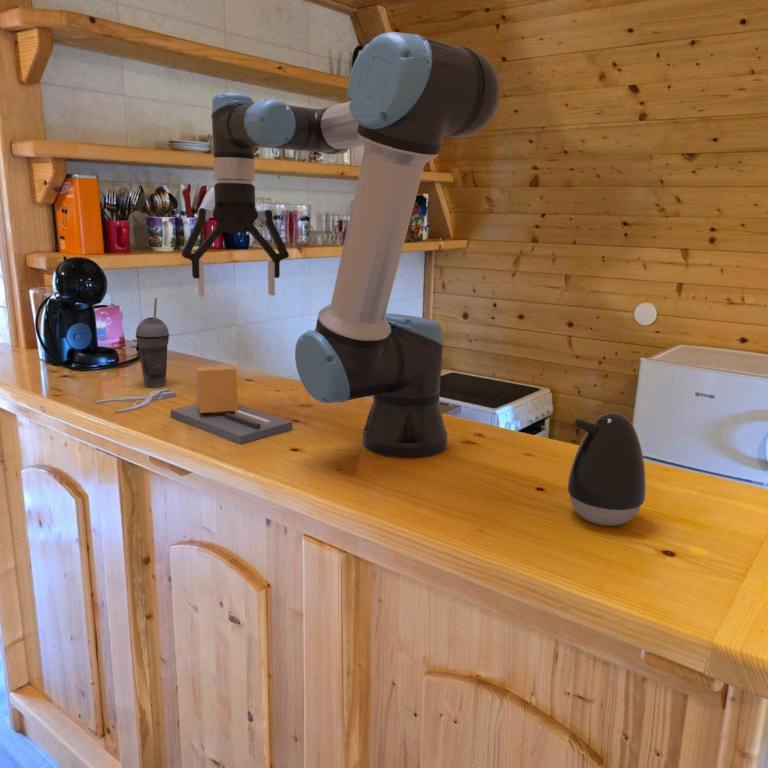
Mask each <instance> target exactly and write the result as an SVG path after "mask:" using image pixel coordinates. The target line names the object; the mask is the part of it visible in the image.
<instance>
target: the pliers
mask: <svg viewBox="0 0 768 768" xmlns="http://www.w3.org/2000/svg"><path fill="white" fill-rule="evenodd" d="M175 398H177V393H176V391H170V388H164V389H159V390H153V391H150V392H148V395H146V396H124V397H123V396H122V397H114V398H113V397H112V398H107V399H101V400H97V401H94V404H95V405H98V404H105V403H111V402H124V403H125V402H126V403H127V402H128V403H134V402H135V403H134V404H133V406H129V407H126V408H122V409H119V410H114V411H115V413H116V414H121V413H126V412H127V413H128V412H131V411H136V410H140V409H142V408H145V407H147V406H149V405H150V404H151V403H154V402H155V401H160V400H161V401H162V400H169V399H175ZM140 401H142V402H141V403H140Z"/></svg>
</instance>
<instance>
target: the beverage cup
mask: <svg viewBox="0 0 768 768" xmlns="http://www.w3.org/2000/svg"><path fill="white" fill-rule="evenodd" d="M153 304H154V306H153V317H146V318H144V319H142V320H141V321H140V322H139V324H138V325H137V327H136V330H135V331H136V332H135V337H136V343H137V346H138V350H139V351H138V352H139V357H140V365H141V372H142V377H143V383H144V386H145V387H146V388H161V387H165V386H166V380H167V368H168V367H167V361H168V345H169V338H170V333H169V330H168V326H167V324H166V323H165V322H164V321H163V320H162V319H160V318H158V317H157V305H158V297H154V303H153Z"/></svg>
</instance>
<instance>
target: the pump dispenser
mask: <svg viewBox="0 0 768 768" xmlns="http://www.w3.org/2000/svg"><path fill="white" fill-rule="evenodd" d="M574 426H575V427H577V428H579V429H581V430H582V431H585V434H584V436H583V437H582V439H581V442H580V443H579V446H578V447H577V450H576V452H575V455H574V458H573V461H572V464H571V468H570V471H569V476H568V481H567V492H568V494H569V497H570V498H569V499H570V502H571V505H572V506H573V509H574V510H575V512H576V513H577V514H578V515H579V516H580V517H581V518H583V519H584V520H586V521H588V522H590V523H592V524H595V525H599V526H604V527H617V526H620V525H623V524H626V523H628V522H630V521H631V520H632V519H634V517H635V516H636V515H637V514H638V512H639V510H640V508H641V506H642V505H643V504H644V503H645V499H646V491H647V489H646V469H645V467H646V466H645V460H644V454H643V451H642V446H641V442H640V439H639V437H638V434H637V431H636V429H635V427H634V424H633V423H632V422H631V420H630V419H629V418H628V417H627V416H624V415H623V414H620V413H617V412H607V413H604V414H603V413H602V414H601V415H600V416H598V417H597V418H596V419H595V420H594V421H593V422H590V421H586V420H584V419H581V418H577V419H575V421H574Z"/></svg>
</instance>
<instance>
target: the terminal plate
mask: <svg viewBox="0 0 768 768" xmlns="http://www.w3.org/2000/svg"><path fill="white" fill-rule="evenodd" d="M170 418H172V419H174V420H178V421H180V422H182V423H185V424H187V425H190V426H192V427H195V428H198V429H201V430H203V431H205V432H208V433H211V434H213V435H216V436H218V437H220V438H221V437H222V438H224V439H226V440H228V441H232V442H234V443H237V444H239V445H242V444H245V443H246V444H247V443H249V442H254V441H257V440H259V439H264V438H268V437H270V436H275V435H278V434H282V433H285V432H288V431H292V430H293V421H290V420H287V419H284V418H282V417H278V416H275V415H273V414H269V413H266V412H263V411H260V410H258V409H254V408H251V407H248V406H245V405H241V404H239V403H238V411H224V412H208V413H200V412H199V409H198V403H195V404H191V405H185V406H182V407H177V408H173V409H170Z"/></svg>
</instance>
